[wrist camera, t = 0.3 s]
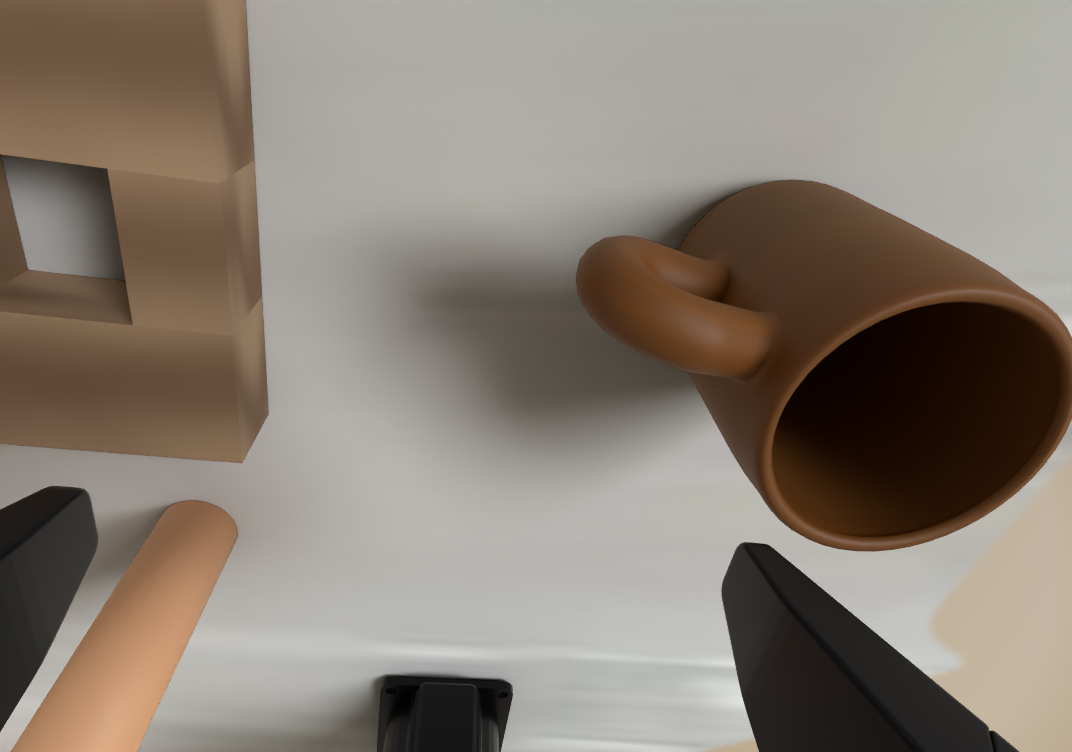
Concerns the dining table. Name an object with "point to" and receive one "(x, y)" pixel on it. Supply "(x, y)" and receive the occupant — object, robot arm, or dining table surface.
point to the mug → (846, 360)
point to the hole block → (136, 230)
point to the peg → (136, 638)
